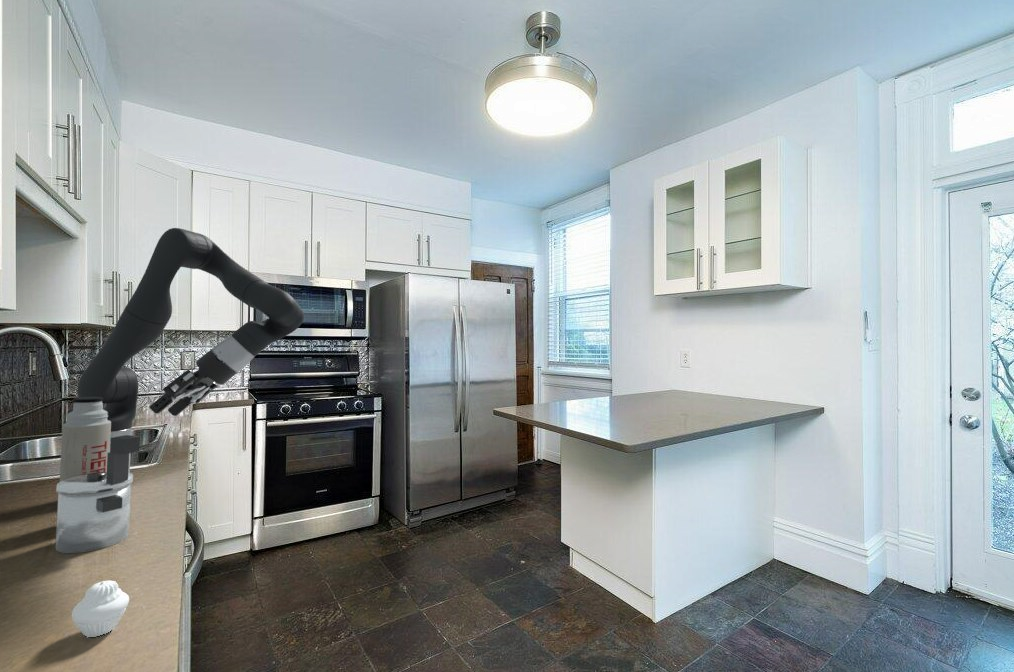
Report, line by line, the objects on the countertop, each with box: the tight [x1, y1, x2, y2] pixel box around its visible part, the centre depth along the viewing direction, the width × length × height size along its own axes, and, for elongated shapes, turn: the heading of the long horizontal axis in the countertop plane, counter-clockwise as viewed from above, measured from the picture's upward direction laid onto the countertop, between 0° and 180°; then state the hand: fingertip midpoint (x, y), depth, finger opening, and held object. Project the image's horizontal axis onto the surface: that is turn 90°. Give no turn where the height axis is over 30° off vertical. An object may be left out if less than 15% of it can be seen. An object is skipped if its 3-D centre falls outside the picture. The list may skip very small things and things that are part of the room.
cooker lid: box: [55, 435, 141, 495], centre depth 93 cm, size 14×12×10 cm
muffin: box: [71, 580, 130, 638], centre depth 65 cm, size 6×6×7 cm
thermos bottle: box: [59, 397, 111, 482], centre depth 101 cm, size 8×8×28 cm
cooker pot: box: [55, 483, 132, 554], centre depth 92 cm, size 14×11×11 cm
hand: (162, 412), depth 99 cm, fingers open, 8 cm apart
